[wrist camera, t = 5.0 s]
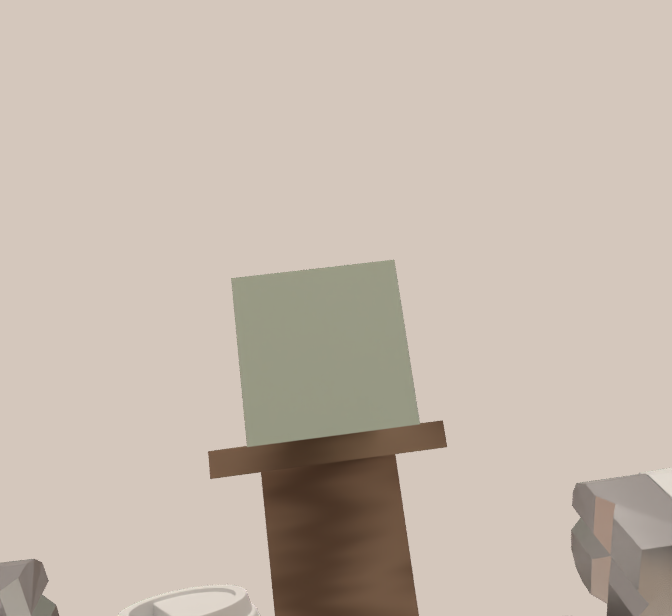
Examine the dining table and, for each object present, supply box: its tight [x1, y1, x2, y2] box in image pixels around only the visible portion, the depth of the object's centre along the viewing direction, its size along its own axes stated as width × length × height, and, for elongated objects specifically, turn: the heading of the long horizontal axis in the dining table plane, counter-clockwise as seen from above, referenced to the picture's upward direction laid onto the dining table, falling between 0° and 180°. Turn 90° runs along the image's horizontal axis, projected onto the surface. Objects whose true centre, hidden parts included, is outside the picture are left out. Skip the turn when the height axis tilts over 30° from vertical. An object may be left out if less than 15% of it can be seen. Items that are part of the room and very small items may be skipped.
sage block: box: [231, 260, 420, 447], centre depth 24 cm, size 5×20×5 cm, turn 2°
